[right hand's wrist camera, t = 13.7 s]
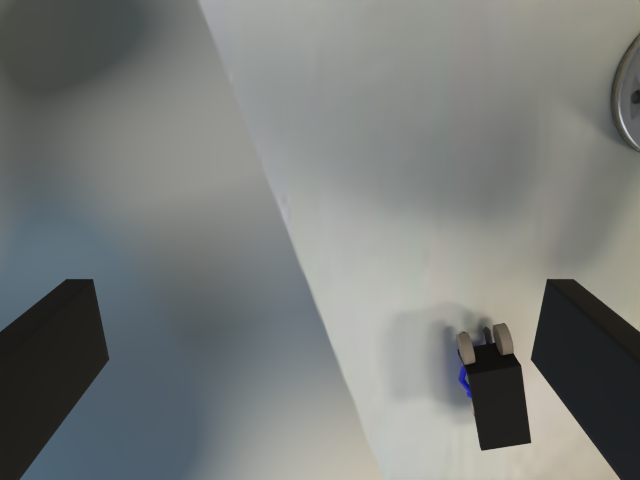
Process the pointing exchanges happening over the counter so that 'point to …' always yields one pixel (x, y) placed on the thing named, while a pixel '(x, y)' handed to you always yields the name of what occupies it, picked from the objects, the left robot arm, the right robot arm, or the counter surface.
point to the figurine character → (495, 389)
